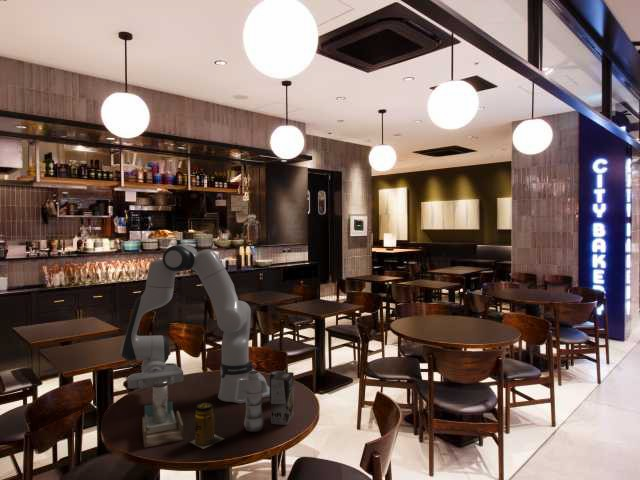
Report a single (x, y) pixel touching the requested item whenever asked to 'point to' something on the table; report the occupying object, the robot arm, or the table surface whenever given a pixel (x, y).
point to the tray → (164, 426)
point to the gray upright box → (272, 377)
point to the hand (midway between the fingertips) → (157, 384)
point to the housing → (163, 434)
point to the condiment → (205, 426)
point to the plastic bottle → (253, 402)
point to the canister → (160, 401)
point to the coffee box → (282, 398)
